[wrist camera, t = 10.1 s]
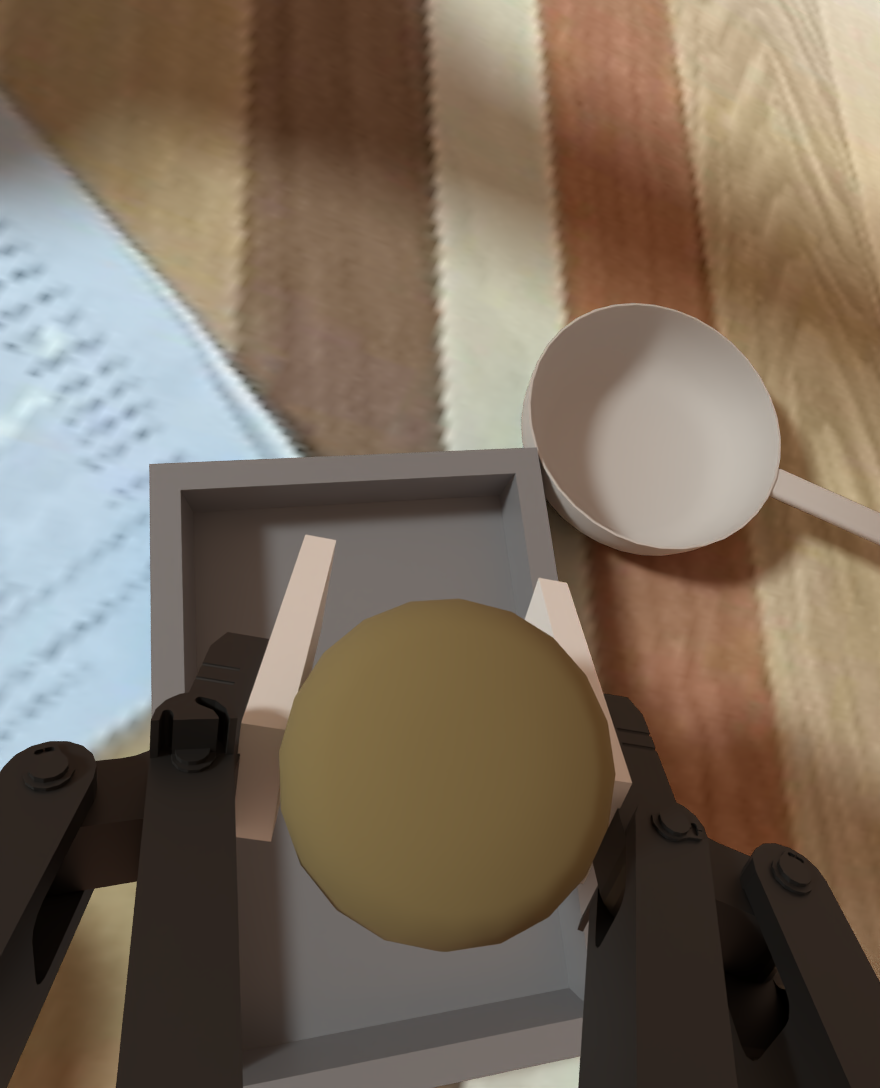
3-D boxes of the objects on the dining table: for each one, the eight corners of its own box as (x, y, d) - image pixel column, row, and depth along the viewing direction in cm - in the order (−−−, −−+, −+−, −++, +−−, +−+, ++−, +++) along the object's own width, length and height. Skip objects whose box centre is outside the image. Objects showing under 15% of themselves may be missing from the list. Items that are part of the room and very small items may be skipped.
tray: (170, 497, 27) (149, 464, 24) (513, 479, 30) (536, 447, 27) (180, 1086, 22) (155, 1146, 19) (590, 1004, 25) (632, 1044, 22)
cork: (242, 720, 19) (151, 691, 9) (424, 610, 21) (526, 480, 11) (353, 919, 19) (394, 1142, 8) (534, 788, 20) (760, 834, 10)
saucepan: (556, 310, 33) (586, 256, 29) (894, 476, 34) (963, 443, 30) (467, 503, 30) (488, 469, 26) (843, 683, 30) (915, 675, 27)
